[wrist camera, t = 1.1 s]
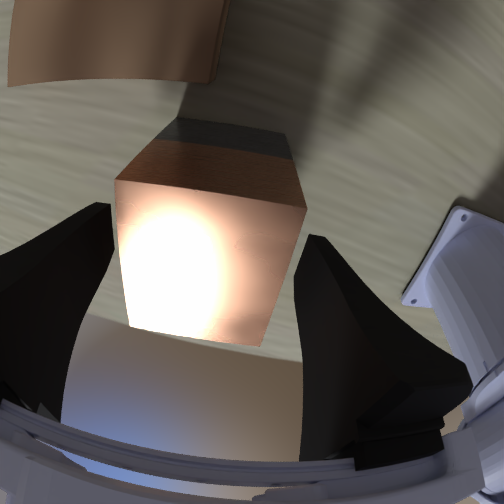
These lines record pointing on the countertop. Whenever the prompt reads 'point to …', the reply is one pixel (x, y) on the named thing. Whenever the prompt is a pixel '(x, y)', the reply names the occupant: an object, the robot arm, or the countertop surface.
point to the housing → (208, 230)
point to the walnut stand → (115, 40)
